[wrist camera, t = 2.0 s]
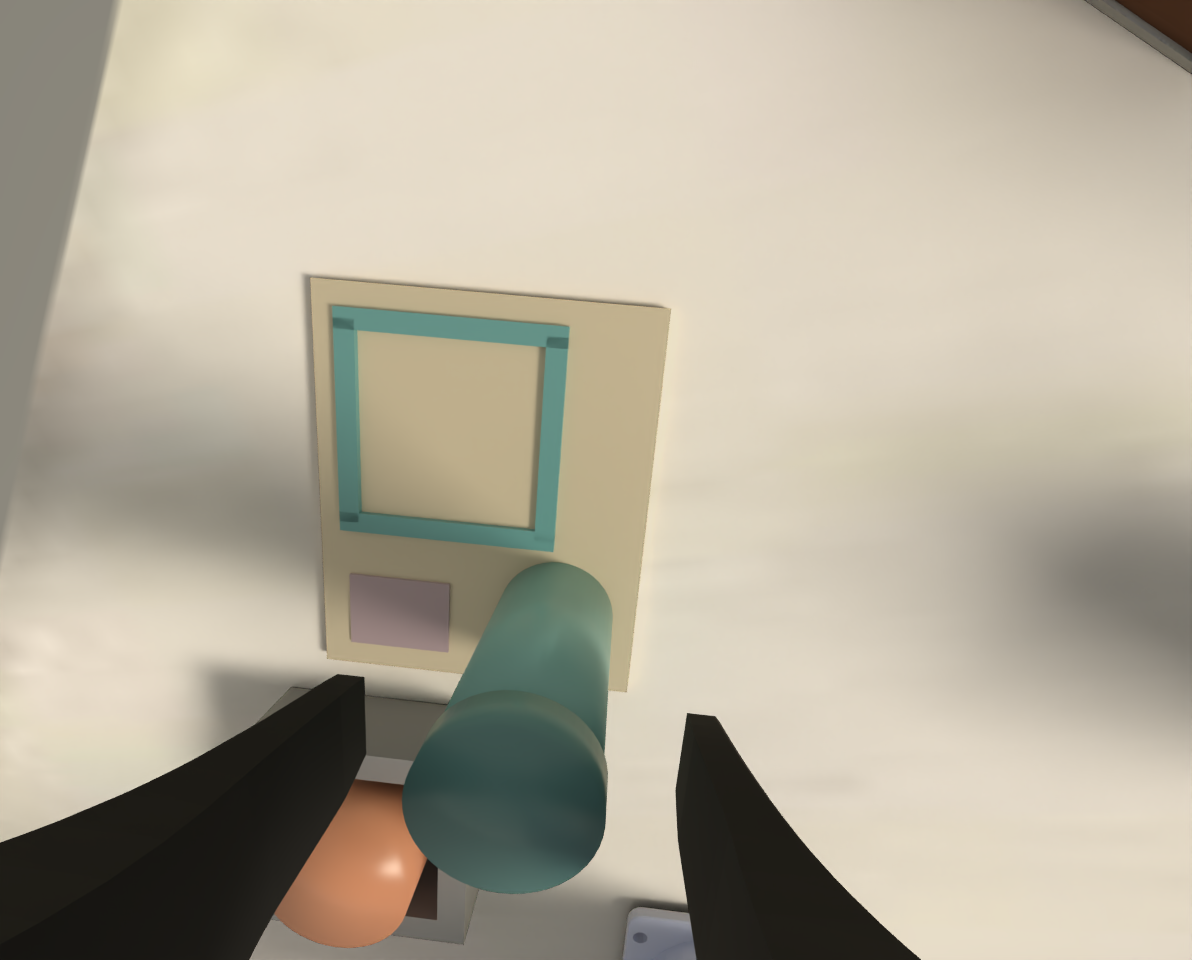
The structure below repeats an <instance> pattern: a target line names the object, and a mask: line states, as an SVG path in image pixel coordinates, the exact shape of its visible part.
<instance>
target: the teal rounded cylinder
mask: <svg viewBox="0 0 1192 960" xmlns="http://www.w3.org/2000/svg"><path fill="white" fill-rule="evenodd" d="M612 620H613V613H612V606H611V602H610V599H609V597H608V595H607V593H606V591H605V589H604V588H603V587H602V585H601V584H600V583H599V582H598V581H597V580H596V579H595V578H594V577H593V576H592V575H590V574H589V573H588V572H586V571H584V570H582V569H581V568H578V567H576V566H573V565H570V564H565V563H559V562H549V563H541V564H537V565H534V566H531V567H529V568H527V569H525V570H523V571H522V572H520V573H519V574H517V575H516V576H515V577H514V578H513V579H512V580H511V581H510V583H509V584H508V585H507V587H506V589H505V590H504V592H503V594H502V596H501V598H500V600H499V602H498V604H497V606H496V608H495V610H494V612H493V614H492V616H491V619H490V621H489V623H488V625H487V627H486V629H485V631H484V633H483V635H482V637H481V639H480V641H479V643H478V645H477V647H476V649H475V651H474V653H473V655H472V657H471V659H470V661H469V663H468V665H467V667H466V669H465V671H464V673H463V675H462V677H461V679H460V681H459V683H458V685H457V687H456V689H455V691H454V693H453V695H452V697H451V699H450V701H449V703H448V705H447V707H446V709H445V711H444V713H443V714H442V715H441V716H440V717H439V718H438V719H437V720H436V722H435V723H434V724H433V726H432V727H431V729H430V731H429V732H428V734H427V736H426V738H425V740H424V742H423V744H422V746H421V748H420V750H419V752H418V754H417V756H416V758H415V760H414V762H413V764H412V766H411V768H410V770H409V772H408V774H407V777H406V779H405V783H404V787H403V792H402V809H403V815H404V820H405V823H406V826H407V828H408V831H409V833H410V835H411V837H412V839H413V841H414V842H415V844H416V845H417V847H418V848H419V849H420V851H421V852H422V853H423V854H424V855H425V856H426V857H427V858H428V860H429V861H430V862H432V863H433V864H434V865H435V866H436V867H438V868H439V869H440V870H441V871H443V872H444V873H446V874H447V875H449V876H450V877H452V878H454V879H456V880H458V881H460V882H462V883H465V884H467V885H470V886H472V887H475V888H479V889H482V890H486V891H491V892H496V893H507V894H524V893H531V892H538V891H542V890H546V889H549V888H552V887H554V886H557V885H560V884H562V883H563V882H565V881H567V880H569V879H571V878H572V877H574V876H575V875H576V874H578V873H579V872H580V871H581V870H582V869H583V868H584V867H586V866H587V865H588V863H589V862H590V861H591V860H592V858H593V857H594V856H595V854H596V852H597V850H598V848H599V847H600V844H601V841H602V839H603V835H604V830H605V822H606V802H607V782H608V771H607V763H606V759H605V756H604V750H605V734H606V718H607V702H608V685H609V669H610V653H611V637H612Z"/></svg>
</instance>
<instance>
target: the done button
mask: <svg viewBox="0 0 1192 960" xmlns="http://www.w3.org/2000/svg"><path fill="white" fill-rule="evenodd" d="M403 787H404V785H401V784H393V783H385V782H376V781H368V780H360V779H355V780H354V782H353V784H352V786H351V788H350V790H349V792H348V794H347V796H346V798H345V800H344V802H343V804H342V805H341V807H340V809H339V810H338V812H337V813H336V815H335V817H334V818H333V820H332V822H331V823H330V825H329V826H328V828H327V830H326V831H325V833H324V835H323V836H322V838H321V839H320V841H319V843H318V844H317V846H316V847H315V849H314V850H313V852H312V854H311V855H310V857H309V858H308V860H307V862H306V863H305V865H304V866H303V868H302V870H301V871H300V873H299V874H298V876H297V878H296V879H295V881H294V882H293V884H292V885H291V887H290V889H289V890H288V892H287V893H286V895H285V897H284V898H283V900H282V901H281V903H280V905H279V906H278V908H277V910H276V911H275V913H274V914H275V915H276V916H277V918H278V919H279V920H280V921H282V922H283V923H284V924H285V925H286V926H287V927H289V928H290V929H291V930H293V931H294V932H296V933H298V934H299V935H301V936H303V937H305V938H307V939H309V940H312V941H314V942H317V943H320V944H324V945H328V946H333V947H342V948H355V947H363V946H367V945H371V944H374V943H377V942H379V941H381V940H383V939H385V938H387V937H388V936H389V935H391V934H392V933H393V932H394V931H395V930H396V929H397V928H398V927H399V926H400V924H401V923H402V921H403V919H404V917H405V915H406V912H407V910H408V907H409V904H410V902H411V899H412V897H413V894H414V892H415V889H416V886H417V884H418V881H419V879H420V876H421V874H422V871H423V868H424V866H425V863H426V861H427V857H426V856H425V855H424V854H423V853H422V852H421V851H420V849H419V848H418V847H417V845H416V844H415V842H414V841H413V839H412V837H411V835H410V833H409V831H408V828H407V826H406V823H405V820H404V815H403V809H402V792H403Z"/></svg>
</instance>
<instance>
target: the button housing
mask: <svg viewBox="0 0 1192 960" xmlns="http://www.w3.org/2000/svg"><path fill="white" fill-rule="evenodd" d="M310 690H311V689H302V688H294V687H291V688H290V689H289V690H288V691H287V692H286V693H285V694H284V695H283V696H282V697H281V698H280V699H279V700H278V701H277V702H276V703H275V704H274V705H273V706H272V707H271V708H270V710H269V711H268V712H267V713H266V714H265V715H264V716H263V717H262V718H261V719H260V720H259V721H258V722H260V721H262V720H263V719H265V718H267V717H268V716H270V715H272V714H273V713H275V712H276V711H278V710H280V709H281V708H283V707H285V706H286V705H288V704H289V703H291V702H293V701H294V700H296V699H297V698H299V697H301V696H302V695H304V694H305V693H307V692H309V691H310ZM446 707H447V705H442V704H433V703H425V702H416V701H407V700H398V699H390V698H381V697H372V696H365V721H366V756H365V758H364V760H363V762H362V765H361V767H360V769H359V771H358V773H357V776H356V778H355V779H360V780H368V781H376V782H385V783H393V784H401V785H404V783H405V779H406V777H407V774H408V772H409V770H410V768H411V766H412V764H413V762H414V760H415V758H416V756H417V754H418V752H419V750H420V748H421V746H422V744H423V742H424V740H425V738H426V736H427V734H428V732H429V731H430V729H431V727H432V726H433V724H434V723H435V722H436V720H437V719H438V718H439V717H440V716H441V715H442V714H443V713H444V711H445V709H446ZM258 722H257V723H258ZM257 723H256V724H257ZM478 891H479V888H475V887H472V886H470V885H467V884H465V883H462V882H460V881H458V880H456V879H454V878H452V877H450V876H449V875H447V874H446V873H444V872H443V871H441V870H440V869H439V868H438V867H436V866H435V865H434V864H433V863H432V862H430V861H429V860H428V858H427V861H426V863H425V866H424V868H423V871H422V874H421V876H420V879H419V881H418V884H417V886H416V889H415V892H414V894H413V897H412V899H411V902H410V904H409V907H408V910H407V912H406V915H405V917H404V919H403V921H402V923H401V924H400V926H399V927H398V928H397V929H396V930H395V931H394V932H393V933H392V934H391V935H394V936H402V937H409V938H417V939H425V940H432V941H440V942H448V943H455V944H463V945H464V942H465V938H466V934H467V931H468V927H469V923H470V920H471V916H472V913H473V909H474V905H475V902H476V898H477V894H478ZM271 920H279V919H278V918H277V916H276V915H275V914H274V915H273V916H272V918H271ZM279 921H280V920H279Z"/></svg>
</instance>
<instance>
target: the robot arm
mask: <svg viewBox="0 0 1192 960" xmlns="http://www.w3.org/2000/svg"><path fill="white" fill-rule="evenodd" d="M365 756H366V721H365V685H364V677H358V676H349V675H340V674H337V675H335V676H334V677H332V678H330V679H328V680H327V681H325V682H323V683H322V684H320V685H318V686H317V687H315V688H313V689H312V690H310V691H309V692H307V693H305V694H304V695H302V696H301V697H299V698H297V699H296V700H294V701H293V702H291V703H289V704H288V705H286V706H285V707H283V708H281V709H280V710H278V711H276V712H275V713H273V714H272V715H270V716H268V717H267V718H265V719H263V720H262V721H260V722H258V723H257V724H255V725H254V726H252V727H250V728H249V729H247V730H245V731H243V732H242V733H240V734H238V735H236V736H235V737H233V738H231V739H229V740H227V741H226V742H224V743H222V744H220V745H219V746H217V747H215V748H213V749H212V750H210V751H208V752H206V753H204V754H203V755H201V756H199V757H197V758H195V759H194V760H192V761H190V762H188V763H186V764H184V765H182V766H180V767H178V768H176V769H174V770H172V771H170V772H168V773H166V774H164V775H162V776H160V777H158V778H156V779H154V780H152V781H150V782H148V783H146V784H143V785H141V786H139V787H137V788H135V789H133V790H131V791H129V792H126V793H124V794H122V795H120V796H117V797H115V798H112V799H110V800H108V801H105V802H103V803H100V804H98V805H96V806H93V807H91V808H89V809H86V810H84V811H81V812H79V813H77V814H74V815H72V816H70V817H67V818H65V819H62V820H60V821H57V822H55V823H52V824H50V825H47V826H44V827H42V828H39V829H36V830H34V831H31V832H28V833H26V834H23V835H20V836H18V837H15V838H12V839H9V840H6V841H4V842H1V843H0V960H249V959H250V957H251V955H252V953H253V951H254V949H255V947H256V945H257V943H258V941H259V939H260V937H261V936H262V934H263V932H264V930H265V928H266V927H267V925H268V923H269V922H270V920H271V918H272V916H273V915H274V913H275V911H276V910H277V908H278V906H279V905H280V903H281V901H282V900H283V898H284V897H285V895H286V893H287V892H288V890H289V889H290V887H291V885H292V884H293V882H294V881H295V879H296V878H297V876H298V874H299V873H300V871H301V870H302V868H303V866H304V865H305V863H306V862H307V860H308V858H309V857H310V855H311V854H312V852H313V850H314V849H315V847H316V846H317V844H318V843H319V841H320V839H321V838H322V836H323V835H324V833H325V831H326V830H327V828H328V826H329V825H330V823H331V822H332V820H333V818H334V817H335V815H336V813H337V812H338V810H339V809H340V807H341V805H342V804H343V802H344V800H345V798H346V796H347V794H348V792H349V790H350V788H351V786H352V784H353V782H354V780H355V778H356V776H357V773H358V771H359V769H360V767H361V765H362V762H363V760H364V758H365ZM676 812H677V831H678V843H679V850H680V857H681V864H682V870H683V877H684V883H685V890H686V896H687V903H688V909H689V913H685V912H677V911H669V910H661V909H653V908H645V907H637V908H635V909H633V910H632V911H630V912H629V915H628V919H627V927H626V934H625V942H624V950H623V957H622V960H921V959H920V958H919V957H917V956H916V955H915V954H914V953H913V952H912V951H910V950H909V949H908V948H907V947H906V946H905V945H903V944H902V943H901V942H900V941H899V940H898V939H897V938H896V937H895V936H894V935H892V934H891V933H890V932H889V931H888V930H887V929H886V928H885V927H884V926H883V925H881V924H880V923H879V922H878V921H877V920H876V919H875V918H874V917H873V916H872V915H871V914H870V913H869V912H868V911H867V910H866V909H865V908H864V907H863V906H862V905H861V904H860V903H859V902H858V901H857V900H856V899H855V898H854V897H853V896H852V895H851V894H850V893H849V892H848V891H847V890H846V889H845V888H844V887H843V886H842V885H841V884H840V883H839V882H838V881H837V880H836V879H835V878H834V877H833V876H832V875H831V873H830V872H829V871H828V870H827V869H826V868H825V867H824V866H823V865H822V863H821V862H820V861H819V860H818V859H817V858H816V857H815V856H814V855H813V853H812V852H811V851H810V850H809V849H808V848H807V846H806V845H805V844H804V843H803V842H802V840H801V839H800V838H799V837H798V835H797V834H796V833H795V832H794V830H793V829H792V828H791V827H790V825H789V824H788V823H787V821H786V820H785V819H784V818H783V816H782V815H781V814H780V812H779V811H778V810H777V808H776V807H775V806H774V804H773V803H772V802H771V800H770V799H769V797H768V796H767V795H766V793H765V792H764V790H763V789H762V787H761V786H760V785H759V783H758V782H757V780H756V779H755V777H754V776H753V774H752V773H751V771H750V770H749V768H748V767H747V765H746V764H745V762H744V761H743V759H742V758H741V756H740V755H739V753H738V751H737V750H736V748H735V747H734V745H733V743H732V742H731V740H730V739H729V737H728V735H727V734H726V732H725V730H724V729H723V727H722V725H721V724H720V722H719V721H718V719H717V718H716V717H715V716H708V715H699V714H690V713H687V718H686V724H685V731H684V737H683V744H682V751H681V757H680V764H679V771H678V777H677V784H676Z"/></svg>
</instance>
